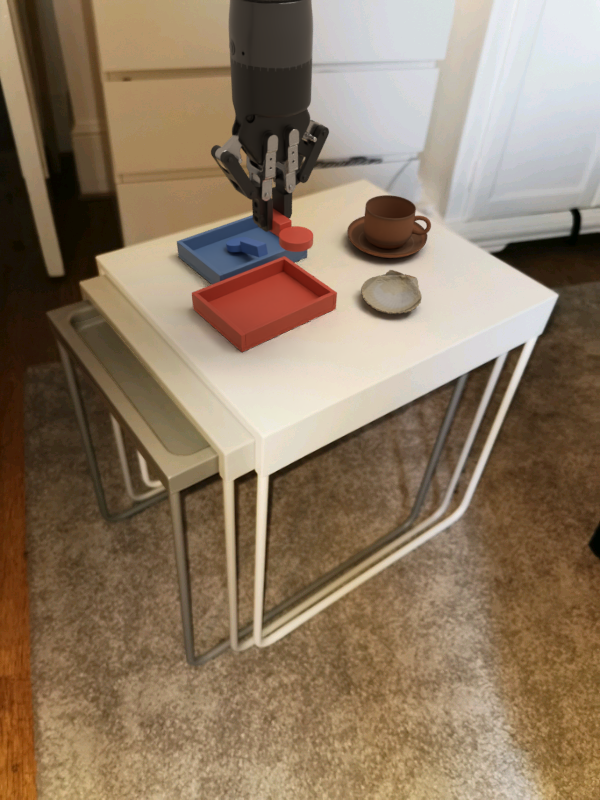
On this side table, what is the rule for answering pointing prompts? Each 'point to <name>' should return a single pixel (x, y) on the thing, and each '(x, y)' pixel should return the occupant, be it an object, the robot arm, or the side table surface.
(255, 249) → the blue spoon
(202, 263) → the blue tray
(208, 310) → the red tray
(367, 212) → the cup and saucer
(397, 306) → the seashell
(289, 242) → the red spoon
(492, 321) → the side table surface
